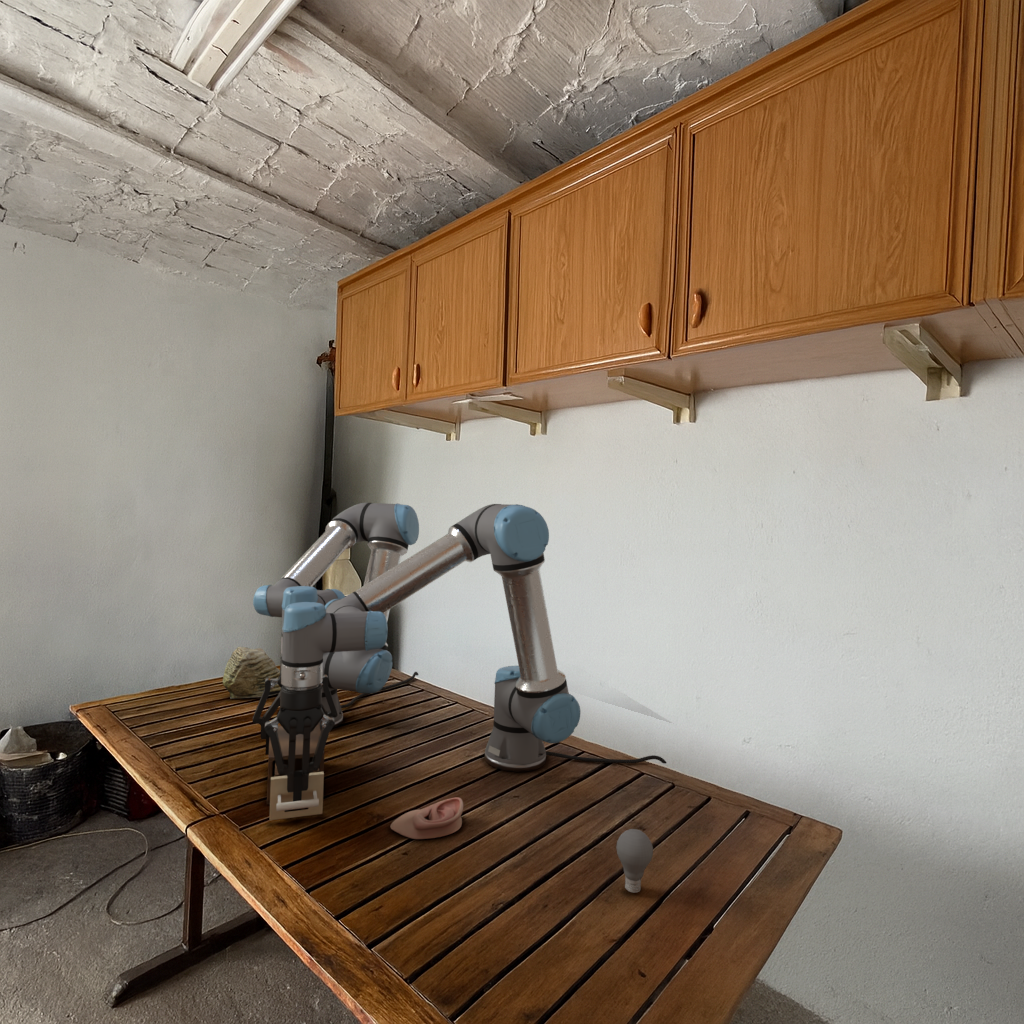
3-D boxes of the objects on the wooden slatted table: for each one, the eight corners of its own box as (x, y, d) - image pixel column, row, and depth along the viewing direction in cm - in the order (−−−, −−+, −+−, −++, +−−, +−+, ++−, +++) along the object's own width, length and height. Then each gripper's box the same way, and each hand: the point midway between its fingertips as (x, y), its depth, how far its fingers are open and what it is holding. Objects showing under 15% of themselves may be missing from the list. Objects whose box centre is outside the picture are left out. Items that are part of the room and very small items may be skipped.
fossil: (218, 695, 195) (220, 647, 195) (278, 685, 208) (279, 640, 207) (228, 703, 189) (230, 653, 188) (289, 692, 201) (290, 645, 201)
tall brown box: (322, 798, 133) (324, 752, 133) (266, 804, 129) (268, 757, 129) (318, 763, 150) (319, 722, 150) (268, 768, 146) (269, 726, 146)
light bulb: (610, 879, 108) (613, 822, 108) (644, 879, 109) (647, 822, 109) (619, 902, 102) (622, 840, 102) (655, 901, 103) (658, 840, 103)
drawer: (324, 827, 120) (325, 785, 120) (268, 834, 117) (270, 791, 117) (317, 777, 141) (319, 741, 141) (270, 782, 137) (272, 746, 137)
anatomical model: (384, 813, 120) (406, 787, 131) (383, 834, 120) (405, 806, 131) (452, 824, 117) (468, 796, 128) (451, 845, 117) (467, 815, 128)
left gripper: (241, 661, 137) (238, 761, 138) (352, 656, 145) (348, 751, 146) (243, 653, 144) (240, 748, 145) (348, 648, 152) (345, 739, 153)
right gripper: (264, 692, 115) (259, 821, 115) (338, 688, 119) (333, 812, 120) (265, 680, 122) (261, 801, 122) (335, 677, 126) (330, 794, 127)
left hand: (294, 750), depth 145 cm, fingers closed on tall brown box, 11 cm apart
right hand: (296, 807), depth 121 cm, fingers closed
